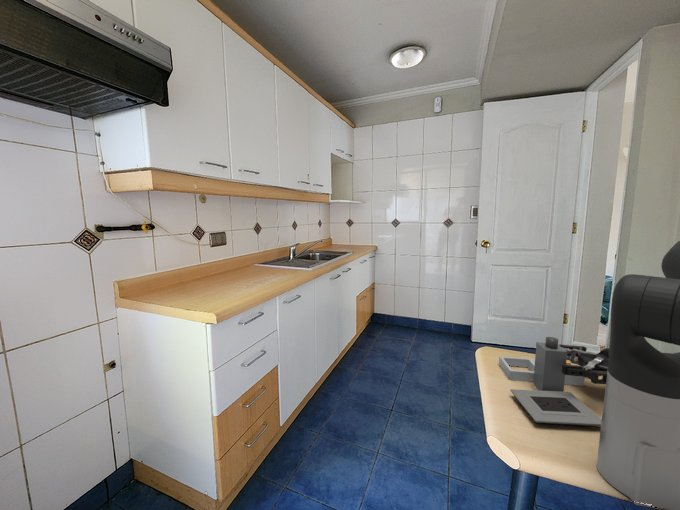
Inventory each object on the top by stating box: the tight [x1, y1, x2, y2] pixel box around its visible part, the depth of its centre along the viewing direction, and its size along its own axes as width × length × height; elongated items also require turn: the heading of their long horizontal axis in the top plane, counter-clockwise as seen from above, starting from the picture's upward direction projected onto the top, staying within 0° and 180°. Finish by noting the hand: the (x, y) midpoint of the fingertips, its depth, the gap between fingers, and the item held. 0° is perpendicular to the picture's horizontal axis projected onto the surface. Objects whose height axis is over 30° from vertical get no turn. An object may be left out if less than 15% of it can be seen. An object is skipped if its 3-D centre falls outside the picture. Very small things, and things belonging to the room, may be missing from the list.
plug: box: [532, 336, 568, 392], centre depth 70 cm, size 4×4×13 cm
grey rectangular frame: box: [498, 355, 586, 387], centre depth 77 cm, size 8×17×3 cm, turn 79°
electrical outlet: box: [510, 388, 602, 427], centre depth 62 cm, size 13×10×2 cm
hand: (552, 360), depth 70 cm, fingers open, 8 cm apart
